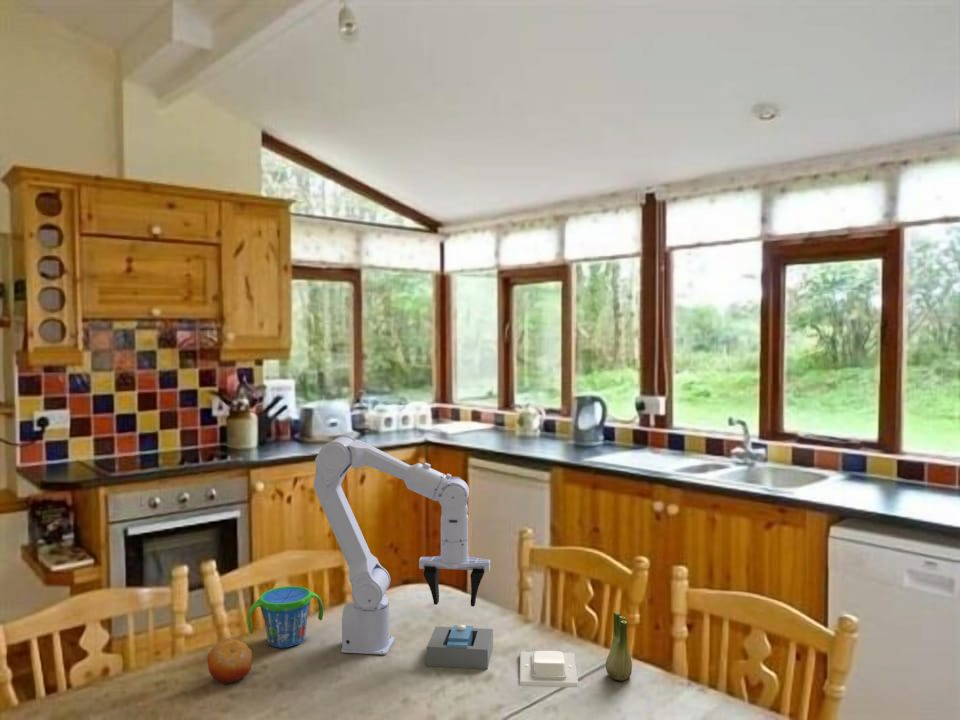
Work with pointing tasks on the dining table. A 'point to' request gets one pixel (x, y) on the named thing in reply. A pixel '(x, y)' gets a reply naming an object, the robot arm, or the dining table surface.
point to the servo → (460, 636)
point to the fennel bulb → (619, 651)
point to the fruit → (229, 661)
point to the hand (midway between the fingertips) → (454, 603)
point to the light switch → (548, 669)
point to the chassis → (460, 649)
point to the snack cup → (285, 614)
